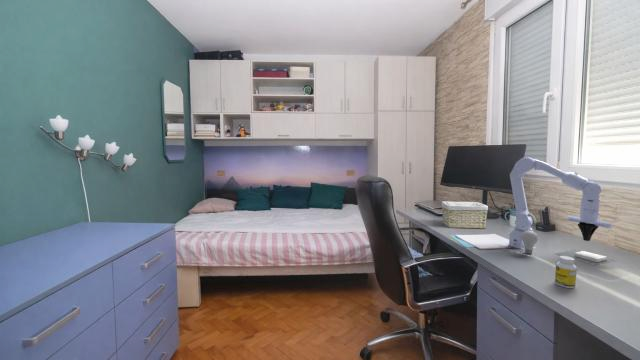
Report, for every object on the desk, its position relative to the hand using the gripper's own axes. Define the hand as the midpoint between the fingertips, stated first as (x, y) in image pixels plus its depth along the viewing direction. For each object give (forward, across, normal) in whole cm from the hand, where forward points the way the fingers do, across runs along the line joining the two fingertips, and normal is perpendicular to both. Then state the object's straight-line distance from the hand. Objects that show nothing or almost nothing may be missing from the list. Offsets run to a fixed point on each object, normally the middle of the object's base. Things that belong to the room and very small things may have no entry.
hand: (586, 240), depth 123 cm
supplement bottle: (+8, -13, +38) cm, 41 cm away
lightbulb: (+8, +12, +18) cm, 23 cm away
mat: (+8, 0, 0) cm, 8 cm away
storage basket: (+8, +63, +2) cm, 64 cm away
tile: (+7, +2, 0) cm, 7 cm away
